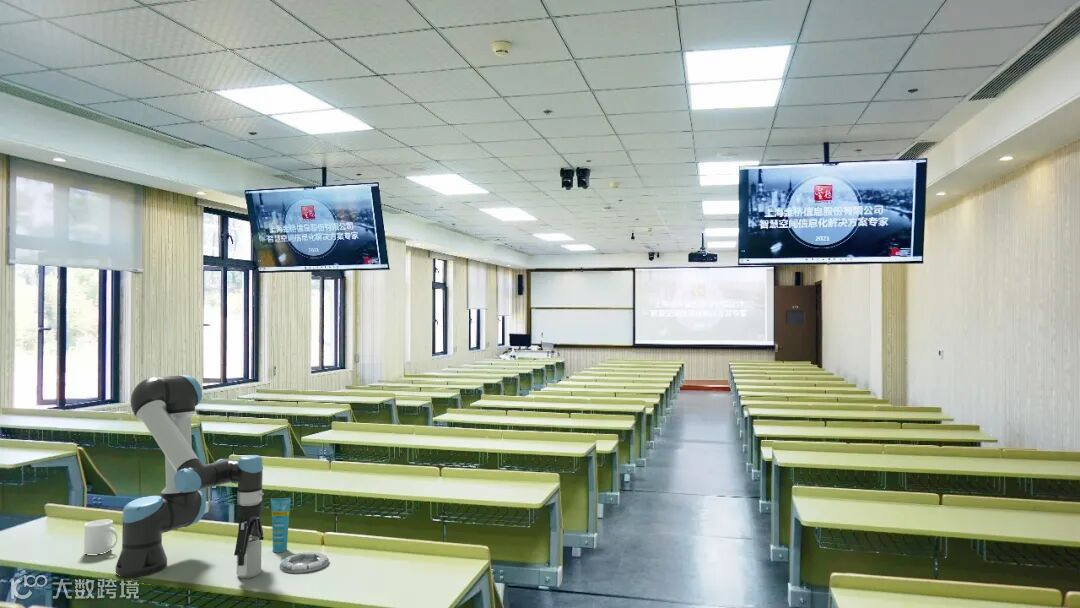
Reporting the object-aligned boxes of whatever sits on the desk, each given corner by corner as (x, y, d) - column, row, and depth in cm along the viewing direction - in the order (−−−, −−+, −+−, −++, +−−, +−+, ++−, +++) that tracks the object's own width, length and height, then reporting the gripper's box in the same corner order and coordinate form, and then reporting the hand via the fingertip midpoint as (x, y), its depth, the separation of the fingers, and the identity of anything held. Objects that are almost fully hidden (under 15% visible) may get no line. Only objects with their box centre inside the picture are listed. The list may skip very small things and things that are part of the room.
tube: (267, 553, 244) (268, 500, 245) (271, 548, 249) (272, 496, 250) (289, 552, 246) (289, 499, 246) (292, 547, 250) (292, 496, 251)
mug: (107, 557, 240) (107, 527, 240) (78, 555, 242) (78, 525, 242) (125, 549, 248) (126, 520, 248) (97, 547, 250) (98, 518, 251)
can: (251, 580, 219) (252, 542, 219) (231, 578, 220) (232, 541, 221) (265, 571, 226) (266, 535, 226) (245, 570, 228) (246, 534, 228)
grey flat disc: (273, 574, 224) (273, 568, 224) (287, 557, 240) (287, 552, 240) (322, 572, 225) (322, 566, 225) (333, 556, 241) (333, 550, 241)
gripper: (248, 513, 212) (247, 581, 211) (273, 493, 237) (272, 554, 236) (223, 513, 211) (223, 581, 210) (251, 494, 236) (250, 555, 235)
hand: (249, 567), depth 223 cm, fingers open, 13 cm apart
